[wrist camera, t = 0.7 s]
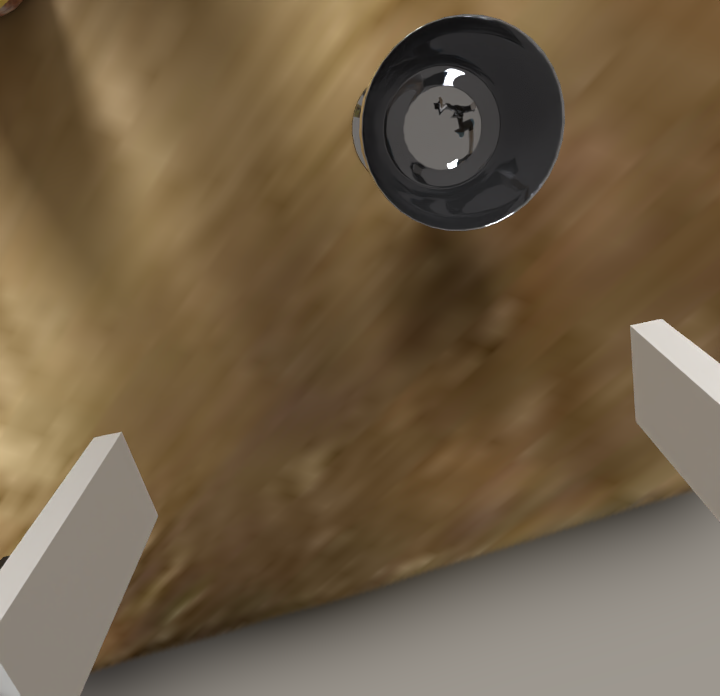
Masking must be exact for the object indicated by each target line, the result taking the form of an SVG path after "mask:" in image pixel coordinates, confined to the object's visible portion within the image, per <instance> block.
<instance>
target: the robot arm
mask: <svg viewBox="0 0 720 696" xmlns="http://www.w3.org/2000/svg"><path fill="white" fill-rule="evenodd" d="M630 331H631V348H632V365H633V382H634V399H635V416H636V422H637V423H638V425H639V426H640V427H641V428H642V429H643V431H644V432H645V433H646V434H647V435H648V437H649V438H650V439H651V440H652V441H653V443H654V444H655V445H656V446H657V447H658V449H659V450H660V451H661V452H662V453H663V455H664V456H665V457H666V458H667V459H668V461H669V462H670V463H671V464H672V465H673V467H674V468H675V469H676V470H677V471H678V473H679V474H680V475H681V476H682V477H683V479H684V480H685V481H686V482H687V483H688V485H689V486H690V487H691V488H692V489H693V491H694V492H695V493H696V494H697V495H698V496H699V498H700V499H701V500H702V501H703V502H704V504H705V505H706V506H707V507H708V508H709V510H710V511H711V512H712V513H713V514H714V516H715V517H716V518H717V519H718V520H719V522H720V364H719V363H718V362H717V361H716V360H714V359H713V358H712V357H710V356H709V355H708V354H707V353H705V352H704V351H703V350H701V349H700V348H699V347H697V346H696V345H695V344H694V343H692V342H691V341H690V340H688V339H687V338H686V337H684V336H683V335H682V334H681V333H679V332H678V331H677V330H675V329H674V328H673V327H672V326H670V325H669V324H668V323H666V322H665V321H664V320H662V319H659V320H654V321H650V322H645V323H640V324H635V325H630ZM157 518H158V514H157V512H156V510H155V507H154V505H153V503H152V500H151V498H150V496H149V494H148V491H147V489H146V487H145V484H144V482H143V480H142V477H141V475H140V473H139V470H138V468H137V466H136V464H135V461H134V459H133V457H132V454H131V452H130V450H129V447H128V445H127V443H126V440H125V438H124V436H123V434H122V432H119V433H114V434H109V435H104V436H99V437H95V438H93V440H92V441H91V442H90V444H89V445H88V447H87V448H86V450H85V451H84V452H83V454H82V455H81V457H80V458H79V459H78V461H77V462H76V464H75V465H74V466H73V468H72V469H71V471H70V472H69V473H68V475H67V476H66V478H65V479H64V481H63V482H62V483H61V485H60V486H59V488H58V489H57V490H56V492H55V493H54V495H53V496H52V497H51V499H50V500H49V502H48V503H47V505H46V506H45V507H44V509H43V510H42V512H41V513H40V514H39V516H38V517H37V519H36V520H35V521H34V523H33V524H32V526H31V527H30V528H29V530H28V531H27V533H26V534H25V536H24V537H23V538H22V540H21V541H20V543H19V544H18V545H17V547H16V548H15V550H14V551H13V552H12V554H11V555H10V556H6V557H3V558H2V559H1V560H0V696H80V694H81V692H82V690H83V687H84V685H85V683H86V680H87V678H88V676H89V674H90V671H91V669H92V667H93V664H94V662H95V660H96V658H97V655H98V653H99V651H100V648H101V646H102V644H103V641H104V639H105V637H106V635H107V632H108V630H109V628H110V625H111V623H112V621H113V618H114V616H115V614H116V612H117V609H118V607H119V605H120V602H121V600H122V598H123V596H124V593H125V591H126V589H127V586H128V584H129V582H130V579H131V577H132V575H133V573H134V570H135V568H136V566H137V563H138V561H139V559H140V557H141V554H142V552H143V550H144V547H145V545H146V543H147V540H148V538H149V536H150V534H151V531H152V529H153V527H154V524H155V522H156V520H157Z"/></svg>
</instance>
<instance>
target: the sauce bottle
mask: <svg viewBox="0 0 720 696" xmlns="http://www.w3.org/2000/svg"><path fill="white" fill-rule="evenodd" d="M22 1H23V0H0V17H1V16H4V15H6V14H8V13H9V12H11V11H13V10H14V9H16V8H17V7H18V5H19V4H20V3H21V2H22Z"/></svg>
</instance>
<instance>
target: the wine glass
mask: <svg viewBox="0 0 720 696" xmlns="http://www.w3.org/2000/svg"><path fill="white" fill-rule="evenodd" d="M564 124H565V116H564V101H563V96H562V91H561V86H560V83H559V80H558V78H557V75H556V73H555V70H554V68H553V66H552V64H551V63H550V61H549V59H548V58H547V56H546V55H545V53H544V52H543V50H542V49H541V48H540V47H539V46H538V45H537V44H536V43H535V42H534V41H533V39H532V38H530V37H529V36H528V35H526V34H525V33H524V32H522V31H521V30H520V29H518V28H517V27H515V26H513V25H511V24H509V23H507V22H504V21H502V20H500V19H496V18H492V17H488V16H484V15H469V14H462V15H456V16H449V17H444V18H441V19H439V20H436V21H433V22H430V23H427V24H425V25H424V26H422V27H420V28H419V29H417V30H415V31H413V32H412V33H410V34H409V35H407V36H406V37H405V38H404V39H403V40H402V41H400V42H399V43H398V44H397V45H396V46H395V47H393V48H392V49H391V51H390V52H389V53H388V54H387V55H386V57H385V58H384V59H383V60H382V62H381V63H380V64H379V66H378V67H377V69H376V71H375V73H374V74H373V76H372V78H371V80H370V82H369V84H368V86H367V88H366V89H365V90H364V91H363V93H362V95H361V96H360V98H359V100H358V102H357V105H356V108H355V110H354V115H353V121H352V136H353V143H354V146H355V149H356V152H357V155H358V157H359V159H360V161H361V162H362V164H363V165H364V166H365V168H366V169H367V170H368V171H369V173H370V175H371V177H372V179H373V181H374V183H375V185H376V186H377V187H378V189H379V190H380V191H381V193H382V194H383V195H384V197H385V198H386V199H387V200H388V201H389V202H391V203H392V204H393V205H394V206H395V207H396V208H397V209H398V210H399V211H400V212H402V213H403V214H405V215H407V216H408V217H410V218H411V219H413V220H415V221H417V222H420V223H422V224H425V225H427V226H430V227H432V228H437V229H442V230H447V231H468V230H474V229H480V228H484V227H487V226H490V225H492V224H495V223H498V222H500V221H502V220H504V219H505V218H507V217H509V216H511V215H513V214H514V213H515V212H517V211H518V210H519V209H521V208H522V207H523V206H524V205H526V204H527V203H528V202H529V201H530V200H531V199H532V198H533V196H534V195H535V194H536V193H537V192H538V191H539V190H540V188H541V187H542V185H543V184H544V182H545V181H546V180H547V178H548V177H549V175H550V173H551V171H552V169H553V166H554V164H555V162H556V160H557V157H558V154H559V151H560V147H561V144H562V140H563V132H564Z"/></svg>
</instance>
